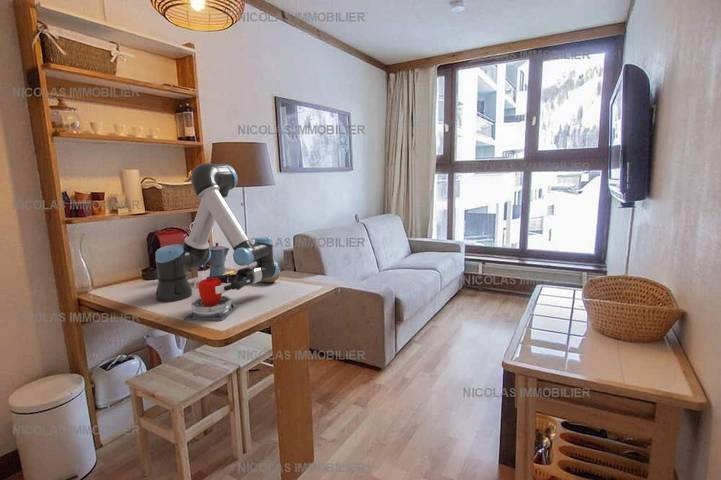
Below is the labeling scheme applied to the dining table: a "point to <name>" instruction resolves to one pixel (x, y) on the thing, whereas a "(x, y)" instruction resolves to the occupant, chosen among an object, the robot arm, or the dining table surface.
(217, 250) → the moka pot
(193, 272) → the wooden block
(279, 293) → the dining table surface
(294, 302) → the dining table surface
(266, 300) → the dining table surface
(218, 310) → the rosette stand
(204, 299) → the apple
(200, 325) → the dining table surface
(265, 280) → the potato
